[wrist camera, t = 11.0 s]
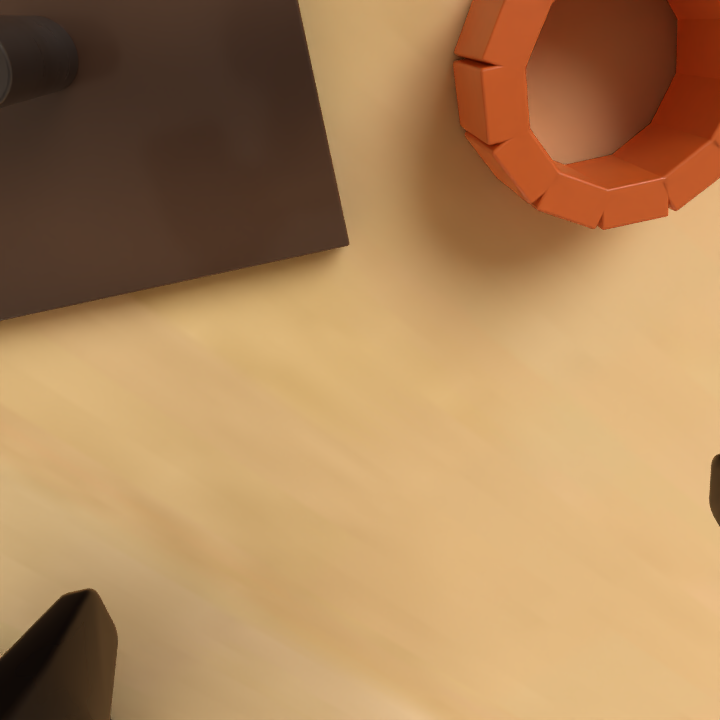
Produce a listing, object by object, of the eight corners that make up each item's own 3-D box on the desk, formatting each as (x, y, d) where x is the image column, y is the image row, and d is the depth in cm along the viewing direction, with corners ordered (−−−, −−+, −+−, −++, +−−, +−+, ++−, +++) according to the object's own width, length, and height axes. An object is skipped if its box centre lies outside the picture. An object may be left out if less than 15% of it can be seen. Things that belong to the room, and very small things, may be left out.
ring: (706, 169, 19) (774, 194, 16) (471, 220, 19) (498, 253, 16) (721, -121, 15) (808, -150, 13) (437, -56, 16) (465, -72, 13)
